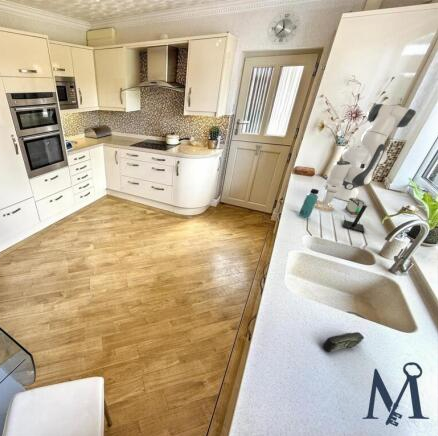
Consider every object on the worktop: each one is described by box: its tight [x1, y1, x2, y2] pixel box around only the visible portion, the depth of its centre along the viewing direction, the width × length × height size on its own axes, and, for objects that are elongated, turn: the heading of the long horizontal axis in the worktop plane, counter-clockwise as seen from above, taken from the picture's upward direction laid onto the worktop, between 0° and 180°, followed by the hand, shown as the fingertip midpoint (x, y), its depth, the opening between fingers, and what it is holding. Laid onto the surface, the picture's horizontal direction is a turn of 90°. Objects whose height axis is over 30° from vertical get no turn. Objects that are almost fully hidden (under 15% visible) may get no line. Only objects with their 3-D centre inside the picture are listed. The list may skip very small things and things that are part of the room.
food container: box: [344, 197, 366, 217], centre depth 159 cm, size 12×6×10 cm, turn 168°
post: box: [342, 204, 368, 234], centre depth 143 cm, size 10×10×15 cm
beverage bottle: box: [298, 188, 319, 219], centre depth 150 cm, size 6×7×20 cm
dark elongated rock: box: [322, 331, 365, 353], centre depth 77 cm, size 5×3×15 cm
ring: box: [313, 199, 334, 211], centre depth 170 cm, size 14×14×2 cm
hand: (324, 203), depth 163 cm, fingers open, 8 cm apart
